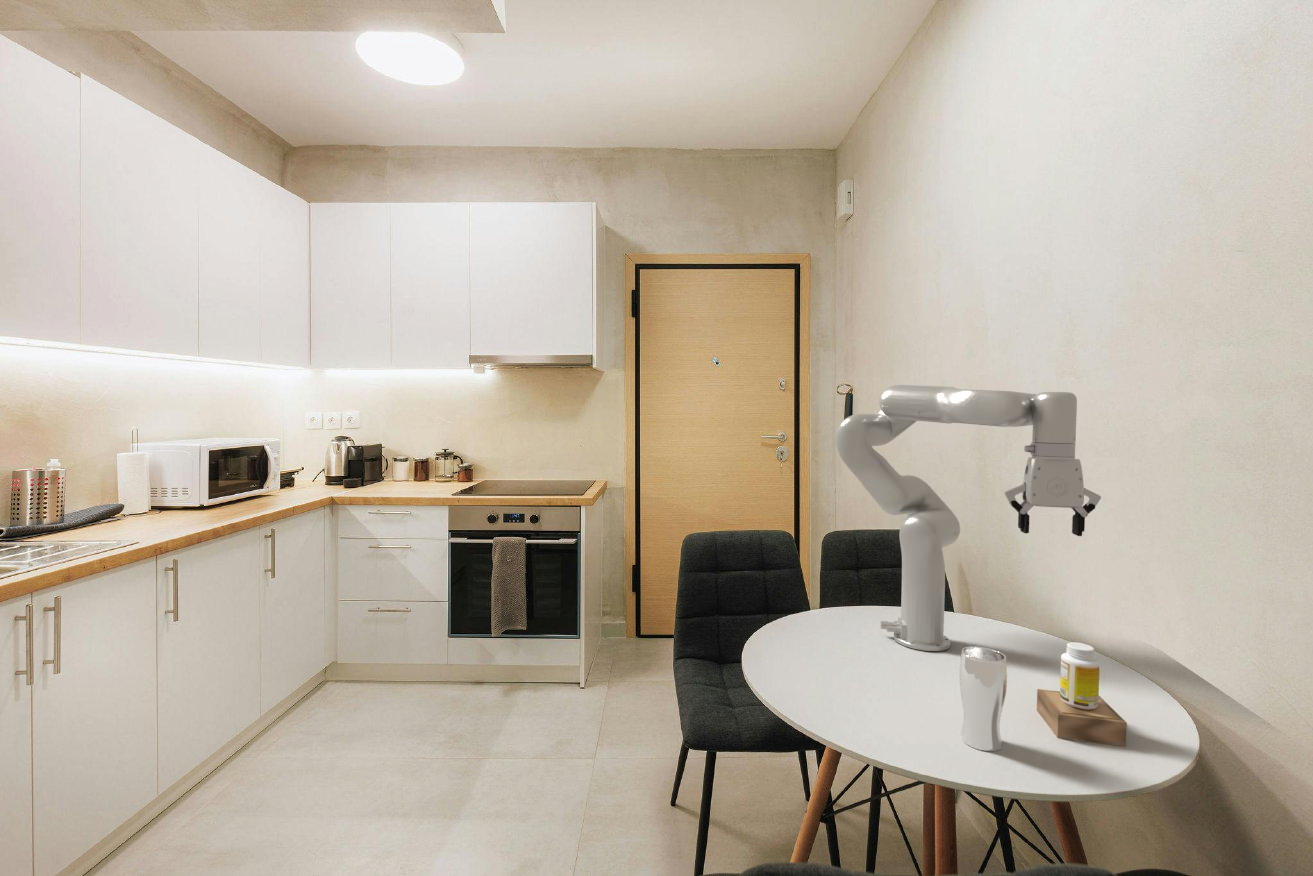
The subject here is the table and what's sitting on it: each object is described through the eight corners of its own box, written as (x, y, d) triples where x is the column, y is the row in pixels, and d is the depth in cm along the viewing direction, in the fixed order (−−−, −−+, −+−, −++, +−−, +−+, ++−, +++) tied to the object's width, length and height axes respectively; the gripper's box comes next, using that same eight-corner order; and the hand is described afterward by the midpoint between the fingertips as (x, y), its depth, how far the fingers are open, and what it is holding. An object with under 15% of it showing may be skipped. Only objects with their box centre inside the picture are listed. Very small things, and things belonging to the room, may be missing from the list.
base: (1057, 737, 103) (1058, 713, 103) (1036, 710, 113) (1037, 688, 112) (1125, 746, 100) (1126, 721, 100) (1098, 717, 110) (1099, 695, 110)
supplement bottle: (1105, 707, 105) (1107, 649, 105) (1086, 713, 103) (1088, 654, 102) (1071, 694, 110) (1073, 638, 110) (1052, 699, 108) (1054, 643, 107)
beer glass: (949, 731, 105) (951, 645, 104) (987, 730, 105) (990, 645, 105) (973, 754, 98) (976, 662, 97) (1014, 752, 98) (1017, 661, 98)
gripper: (1012, 451, 124) (1009, 534, 125) (1110, 453, 120) (1106, 539, 120) (1001, 449, 131) (999, 528, 132) (1093, 451, 127) (1090, 532, 128)
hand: (1050, 533), depth 126 cm, fingers open, 9 cm apart
